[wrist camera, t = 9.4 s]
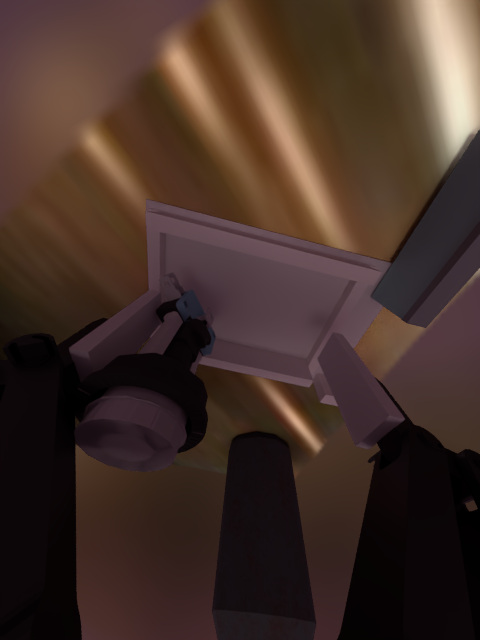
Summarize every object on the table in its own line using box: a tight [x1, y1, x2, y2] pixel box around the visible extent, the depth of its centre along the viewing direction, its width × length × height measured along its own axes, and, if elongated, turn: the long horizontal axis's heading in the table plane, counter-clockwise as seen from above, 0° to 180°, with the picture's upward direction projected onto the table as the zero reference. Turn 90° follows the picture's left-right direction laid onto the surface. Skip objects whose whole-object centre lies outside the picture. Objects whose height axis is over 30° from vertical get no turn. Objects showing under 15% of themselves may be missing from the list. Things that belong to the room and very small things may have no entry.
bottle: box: [212, 432, 316, 640], centre depth 18 cm, size 10×10×30 cm
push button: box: [71, 272, 216, 472], centre depth 11 cm, size 7×5×10 cm
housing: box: [146, 199, 393, 406], centre depth 17 cm, size 22×14×3 cm
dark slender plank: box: [371, 130, 480, 328], centre depth 11 cm, size 1×11×4 cm, turn 167°
